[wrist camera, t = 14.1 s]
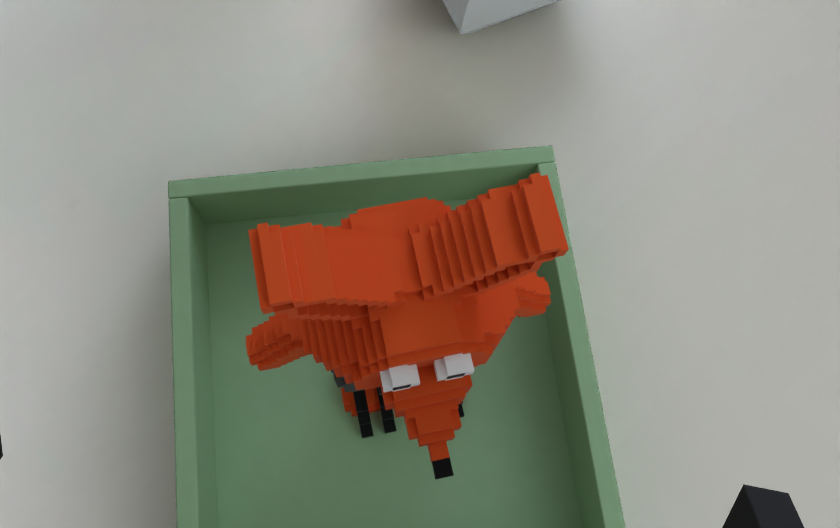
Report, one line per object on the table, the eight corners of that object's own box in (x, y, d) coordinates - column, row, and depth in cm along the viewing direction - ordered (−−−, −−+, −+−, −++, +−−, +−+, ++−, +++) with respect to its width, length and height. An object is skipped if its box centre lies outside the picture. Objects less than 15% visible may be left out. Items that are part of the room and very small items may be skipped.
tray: (192, 216, 26) (167, 180, 23) (534, 183, 27) (552, 144, 24) (208, 665, 22) (180, 690, 19) (611, 608, 23) (644, 623, 20)
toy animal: (297, 515, 23) (207, 526, 12) (269, 341, 25) (167, 201, 13) (549, 458, 24) (699, 416, 12) (507, 294, 25) (605, 122, 14)
